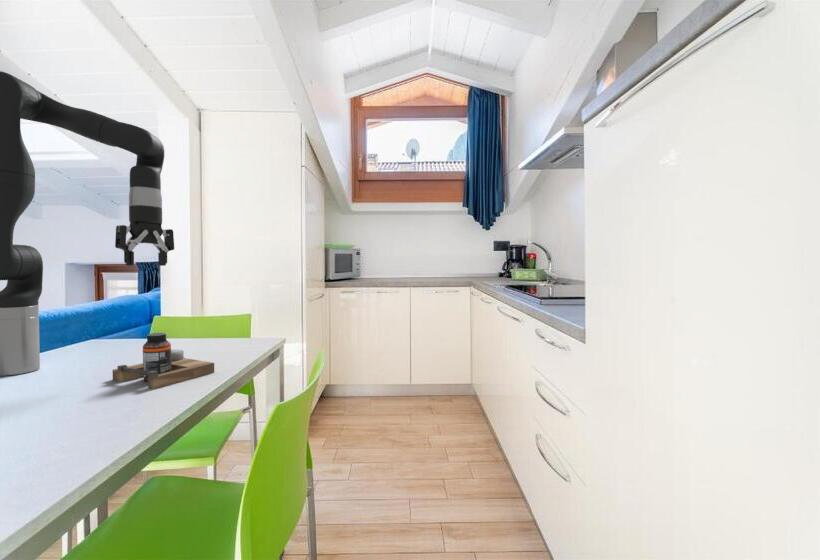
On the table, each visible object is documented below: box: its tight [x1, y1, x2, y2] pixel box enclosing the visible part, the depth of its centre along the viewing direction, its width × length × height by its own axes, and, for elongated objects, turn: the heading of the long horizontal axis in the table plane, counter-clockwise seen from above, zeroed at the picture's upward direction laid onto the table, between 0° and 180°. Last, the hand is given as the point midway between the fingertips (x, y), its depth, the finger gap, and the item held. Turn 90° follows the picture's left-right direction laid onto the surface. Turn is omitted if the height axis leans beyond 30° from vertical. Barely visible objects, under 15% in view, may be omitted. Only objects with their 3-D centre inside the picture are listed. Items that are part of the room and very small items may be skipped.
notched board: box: [111, 357, 215, 390], centre depth 102 cm, size 16×16×4 cm
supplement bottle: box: [142, 332, 172, 382], centre depth 99 cm, size 6×6×11 cm
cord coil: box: [171, 349, 185, 361], centre depth 109 cm, size 5×5×2 cm
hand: (146, 265), depth 109 cm, fingers open, 8 cm apart
